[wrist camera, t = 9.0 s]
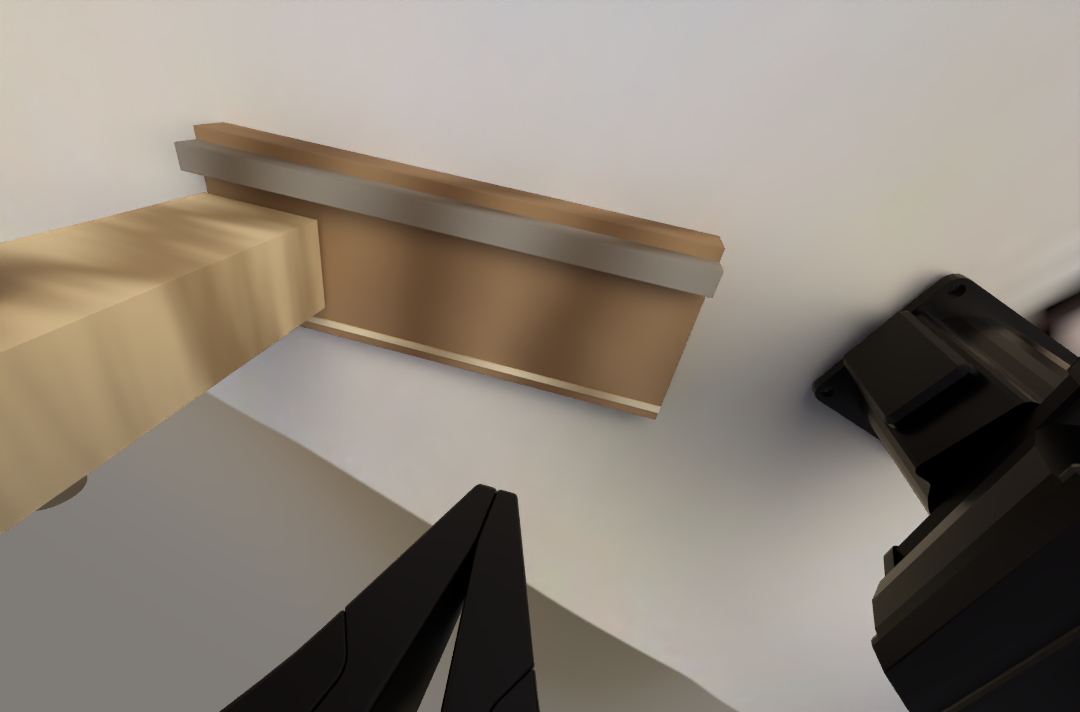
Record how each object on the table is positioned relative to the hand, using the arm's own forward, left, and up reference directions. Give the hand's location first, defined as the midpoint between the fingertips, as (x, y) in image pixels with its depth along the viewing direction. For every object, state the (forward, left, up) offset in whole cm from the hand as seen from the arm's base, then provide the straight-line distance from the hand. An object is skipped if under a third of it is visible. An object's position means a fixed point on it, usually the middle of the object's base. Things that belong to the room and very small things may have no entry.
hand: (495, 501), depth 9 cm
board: (+5, +3, -12) cm, 13 cm away
